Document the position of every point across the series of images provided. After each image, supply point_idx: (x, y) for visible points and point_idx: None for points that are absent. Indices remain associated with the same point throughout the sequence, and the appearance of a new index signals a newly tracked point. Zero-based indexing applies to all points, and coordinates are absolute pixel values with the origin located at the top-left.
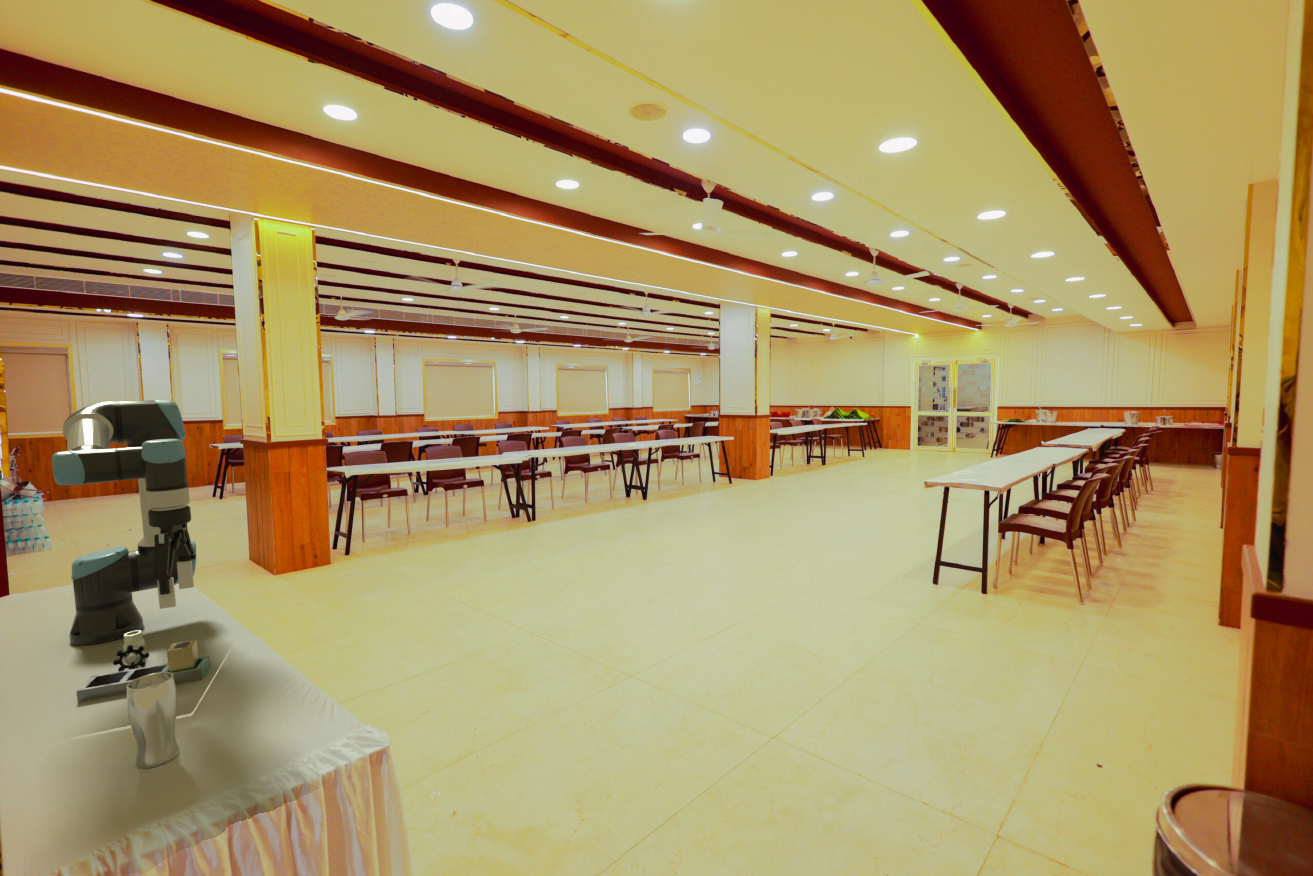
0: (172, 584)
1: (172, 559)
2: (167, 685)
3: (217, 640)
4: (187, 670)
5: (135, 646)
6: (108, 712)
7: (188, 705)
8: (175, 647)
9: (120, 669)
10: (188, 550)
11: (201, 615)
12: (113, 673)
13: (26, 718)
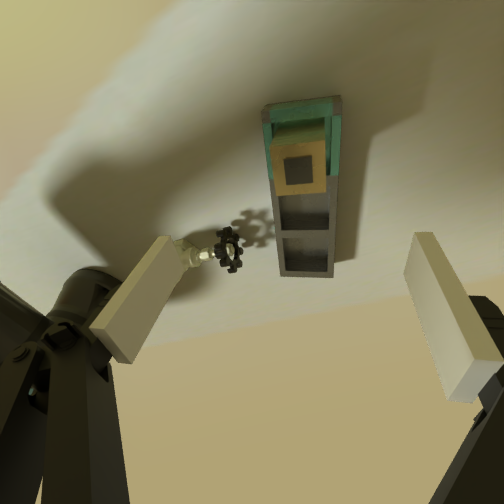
0: (481, 322)
1: None
2: None
3: (123, 146)
4: (335, 133)
5: (192, 258)
6: (394, 219)
7: (476, 74)
8: (312, 180)
9: (241, 252)
10: (62, 404)
11: (26, 212)
12: (283, 255)
13: (345, 297)
